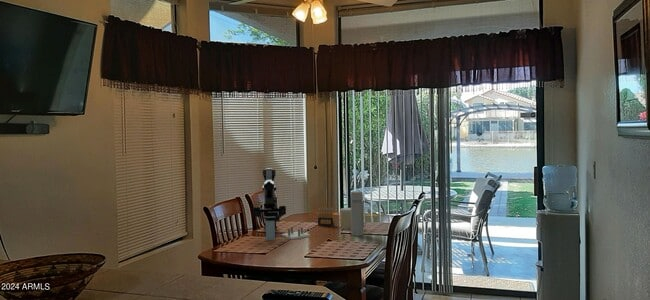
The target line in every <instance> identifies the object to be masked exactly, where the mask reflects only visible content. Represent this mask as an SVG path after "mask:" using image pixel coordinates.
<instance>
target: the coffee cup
mask: <svg viewBox="0 0 650 300" xmlns="http://www.w3.org/2000/svg"><path fill="white" fill-rule="evenodd" d="M339 211H340V212H339V214H340V224H341V226H340V227H341V229H342V230H351V207H342V208H340V209H339Z"/></svg>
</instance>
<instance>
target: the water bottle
mask: <svg viewBox="0 0 650 300" xmlns="http://www.w3.org/2000/svg"><path fill="white" fill-rule="evenodd" d="M350 208H351V229H350V230H351V232H350V233H351V235H352V236H354V237H362V236H363V235H364V233H365V231H364V228H366V227H367V225H364V224H365V222H367V216H366V215H365V214H366V210H365V200H364V194H363V191H357V190H356V191H350Z"/></svg>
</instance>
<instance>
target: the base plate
mask: <svg viewBox="0 0 650 300" xmlns="http://www.w3.org/2000/svg"><path fill="white" fill-rule="evenodd" d="M303 229H304V227H303V226H301V227H300V228H298V229H297V231H294V227H293V226H291V227H290V228H287V232H285V233H281V237H283V238H287V239H289V240H297V239H304V238H310V237H311V234H309V233H306V232H304V230H303Z"/></svg>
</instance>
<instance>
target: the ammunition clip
mask: <svg viewBox="0 0 650 300" xmlns="http://www.w3.org/2000/svg"><path fill="white" fill-rule="evenodd" d="M317 215H318V216H317V226H321V227H322V226H324V227H335V218H334V208H333V207H329V208H328V207H326V208H325V206H324V207H323V206H321V207H320V206H319V207H318V212H317Z"/></svg>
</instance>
